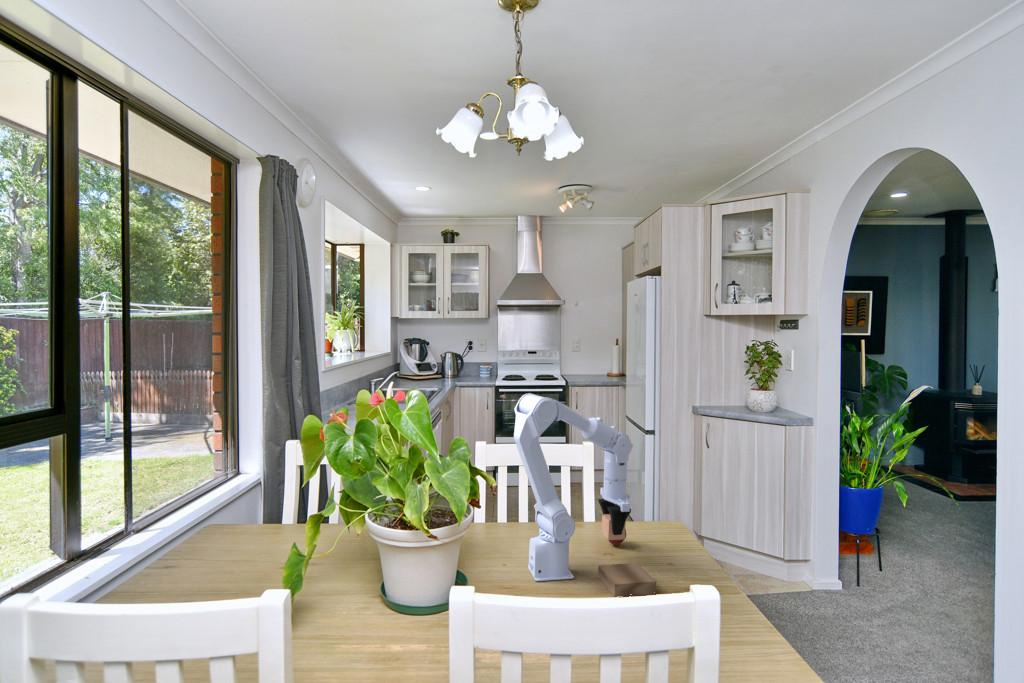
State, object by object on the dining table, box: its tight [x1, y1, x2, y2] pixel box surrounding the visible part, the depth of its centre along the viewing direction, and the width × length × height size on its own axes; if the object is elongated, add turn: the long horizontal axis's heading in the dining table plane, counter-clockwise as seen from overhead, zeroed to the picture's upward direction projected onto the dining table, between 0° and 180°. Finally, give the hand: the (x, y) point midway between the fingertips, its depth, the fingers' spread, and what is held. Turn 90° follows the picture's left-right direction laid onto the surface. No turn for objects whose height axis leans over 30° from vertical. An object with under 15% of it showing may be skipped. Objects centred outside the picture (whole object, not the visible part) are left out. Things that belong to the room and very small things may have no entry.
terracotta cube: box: [601, 513, 627, 541], centre depth 140 cm, size 4×4×5 cm
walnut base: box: [597, 562, 657, 598], centre depth 127 cm, size 10×10×3 cm
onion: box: [606, 528, 627, 547], centre depth 151 cm, size 6×6×8 cm
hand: (613, 530), depth 140 cm, fingers closed on terracotta cube, 4 cm apart
